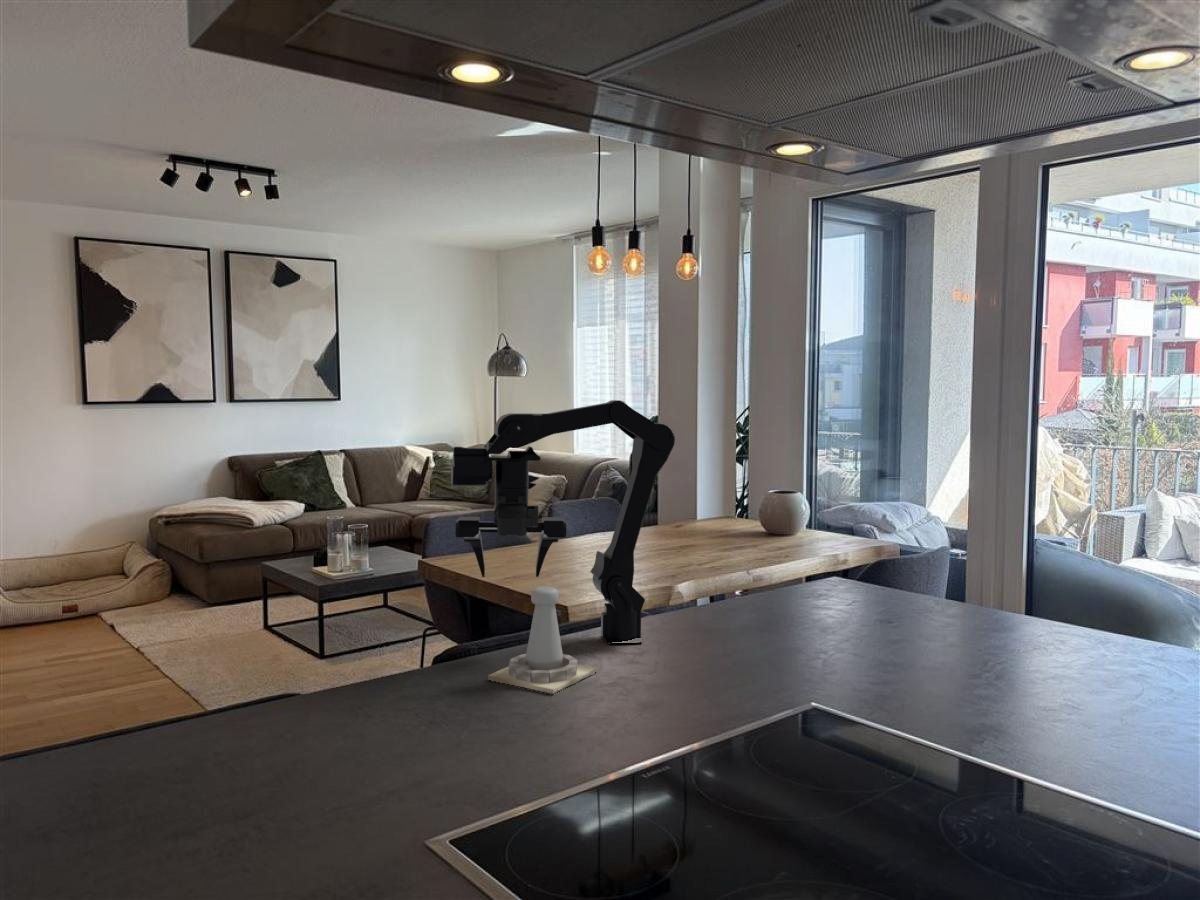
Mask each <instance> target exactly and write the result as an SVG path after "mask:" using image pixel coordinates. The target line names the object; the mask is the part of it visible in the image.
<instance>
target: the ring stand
mask: <svg viewBox="0 0 1200 900" xmlns="http://www.w3.org/2000/svg"><path fill="white" fill-rule="evenodd" d="M595 670H597V667H594V666H588V665H583V664H578V659H577V658H575V657H573V656H572V655H569V654H566V653H565V654H564V653H563V659H562V662H561V665H560V667H559V669H553V670H531V669H530V668H529V666H528V663H527V661H526V653H523V654H519V655H517V656H514V657H512V658H510V660H509V662H508V666H507V667H504V668H501V669H499V670H497V671H495V672H493V673H491V674H490V673H489V674H488V676H487V677H488V678H487V681H489V680H491V681H490V682H494V681H496V682H495V683H498V682H500V683H499V684H502V683H506V684H505V685H507V684H510V685H509V686H511V685H515V686H514V687H516V686H520V687H525V688H530V689H535V690H540V691H546V692H552V693H554V692H556V691H557V690H560V689H562V688H563V687H565V686H567V685H569V684H571V683H572V682H575V681H576V680H578V679H580V678H582V677H583V676H585V675H588V674H589V673H591V672H593V671H595ZM597 671H598V670H597ZM520 687H519V688H520Z"/></svg>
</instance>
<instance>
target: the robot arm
mask: <svg viewBox="0 0 1200 900" xmlns="http://www.w3.org/2000/svg"><path fill="white" fill-rule="evenodd" d="M610 424H612V425H614V426H616V427H617V429H619V430H621V431H622V432H623V434H625V435H627V436H628V437H629V438H631V439H632V440H633V441H632V448H631V462H632V466H631V467H632V468H631V474H630V476H629V480H628V483H627V487H626V490H625V494H624V497H623V501H622V504H621V507H620V510H619V515H618V516H617V517H618V518H617V521H616V524H615V527H614V532H613V533H612V534H613V535H612V538H611V542H610V544H609V545H608V547H607V548H606V550H605V551H604V553H603V552H601V551H599V550H597V551H596V554H595V560H594V563H593V566H592V568H591V569H590V570H589V571H590V573H591V574H592V584H593V585H594V587H595V589H596V590H597V591H598V592H599V593H600V594H601V595H602V596H603V599H604V601H606V602H607V603H604V606H603V607H604V609H603V610H604V611H601V613H600V622H601V623H600V635H601V637H602V639H604V641H606V642H605V644H606V643H612V642H622V641H628V640H632V639H635V638H642V609H643V607H644V604H645V600H646V598H644V596H643V595H642V594H641V593H640V592H638V591H637V590H636V589H635V588H634V587H633V585H634V575H635V559H634V558H635V555H634V554H635V550H636V546H637V541H638V539H639V535H640V531H641V529H642V524H643V522H644V519H645V515H646V511H647V510H648V509H647V508H648V505H649V502H650V499H651V493H652V491H653V488H654V484H655V480H656V477H657V476H658V474H659V473H660V471H661V470H662V468H663V467H664V466H665V464H666V463H667V461H668V459H669V457H670V454H671V452H672V451H673V450H674V449H673V448H674V446H675V442H676V441H675V440H676V438H675V437H676V435H675V434H674V432H673V430H672V429H671V428H670V427H669V426H668V425H666V424H664V423H655V422H654V421H652V420H651V419H649V418H648V417H646V416H644V415H643V414H641V413H640V412H639V411H637V410H635V409H633V408H632V407H630V406H629V405H628V404H627V403H626V402H625V401H623V400H616V399H615V400H612V399H611V400H609V401H607V402H604V403H603V402H601V403H598V404H591V405H586V406H580V407H576V408H575V407H574V408H569V409H564V410H559V411H553V412H548V413H531V412H529V413H525V412H523V413H522V412H521V413H520V412H519V413H517V412H516V413H511V412H510V413H506V414H503V415H501V416H499V418H498V419H497V421H496V422H495V424H494V433H493V434H492V435H491V437H490V438H489V439H488V441H486V443H485V444H484V446H483V447H465V446H453V448H452V450H453V451H452V461H451V462H452V463H451V465H450V482H451V487H452V488H455V487H456V488H465V487H467V488H471V487H472V488H473V487H474V488H475V487H478V488H480V487H481V488H483V487H484V488H485V487H486V483H489V482H491V481H492V480H493V462H494V461H495V462H494V463H495V469H494V470H495V471H494V473H495V474H494V476H495V478H494V479H495V480H494V514H493V515H494V516H493V517H494V518H493V519H494V520H493V521H480V516H459V517H458V519H456V521H455V537H456V538H462V539H463V540H462V541H463V543H469V544H470V546H471V548H472V550H473V553H474V554H475V555H474V556H475V558H476V561H477V563H478V564H477V565H478V569H479V570H480V575H481V577H482V578H485V577H486V574H485V572H486V565H485V556H484V548H483V538H482V533H497V535H498V536H501V537H507V536H518V537H524V536H526V535H527V533H540V534H539V541H538V546H537V547H538V548H537V555H536V563H535V578H539V576H540V573H541V569H542V567H543V564H544V561H545V558H546V556H547V554H548V551H549V550H550V547H551V546H552V545H553V544H554V543H558V542H559V538H567V522H566V521H565V520H564V518H562V517H561V516H560V517H559V516H558V517H557V516H556V517H555V516H543V517H541V521H539V506H538V505H529V480H530V479H529V471H530V470H529V466H530V465H529V463H530V462H539V461H540V460H541V456H539V455H538V454H537V453H536V452H535V450H534V448H533V447H532V446H529V445H530V444H533V443H535V442H537V441H540V440H542V439H544V438H547V437H549V436H552V435H556V434H562V433H566V432H567V433H568V432H572V431H579V430H583V429H588V428H594V427H599V426H604V425H606V426H607V425H610ZM527 445H528V447H526V449H525V450H509V449H510V448H512V449H519V448H522V447H525V446H527ZM507 450H508V451H507ZM506 451H507V455H506V456H505V455H503V456H501V455H500V454H503V453H504V452H506ZM490 455H493V456H490ZM495 455H499V456H495Z"/></svg>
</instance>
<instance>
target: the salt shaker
mask: <svg viewBox="0 0 1200 900" xmlns="http://www.w3.org/2000/svg"><path fill="white" fill-rule="evenodd" d="M530 595H531V597H530V599H531V603H532V604H534V610H533V615H532V621H531V627H530V630H529V638H528V642H527V646H526V647H527V648H526V653H525V654H526V661H527V663H528V666H529V668H530V669H531V670H553V669H559V667H560V665H561V662H562V659H563V654H564V653H563V648H562V643H561V642H562V641H561V635H560V629H559V623H558V617H557V610H556V605H557V604H559V602H560V601H559V600H560V594H559V591H558V589H556V588H555V587H552V586H551V587H550V586H540V587H539V586H538V587H536V588H534V589H533V590H532V591H531V594H530Z"/></svg>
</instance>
